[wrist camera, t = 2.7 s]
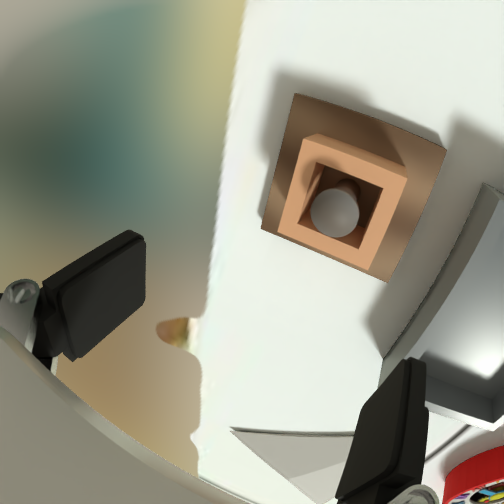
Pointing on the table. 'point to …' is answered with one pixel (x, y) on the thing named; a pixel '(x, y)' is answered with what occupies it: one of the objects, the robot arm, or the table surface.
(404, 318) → the table surface
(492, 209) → the tray
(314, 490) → the paper plane
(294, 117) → the stake base
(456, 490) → the toy clock
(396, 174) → the ring
